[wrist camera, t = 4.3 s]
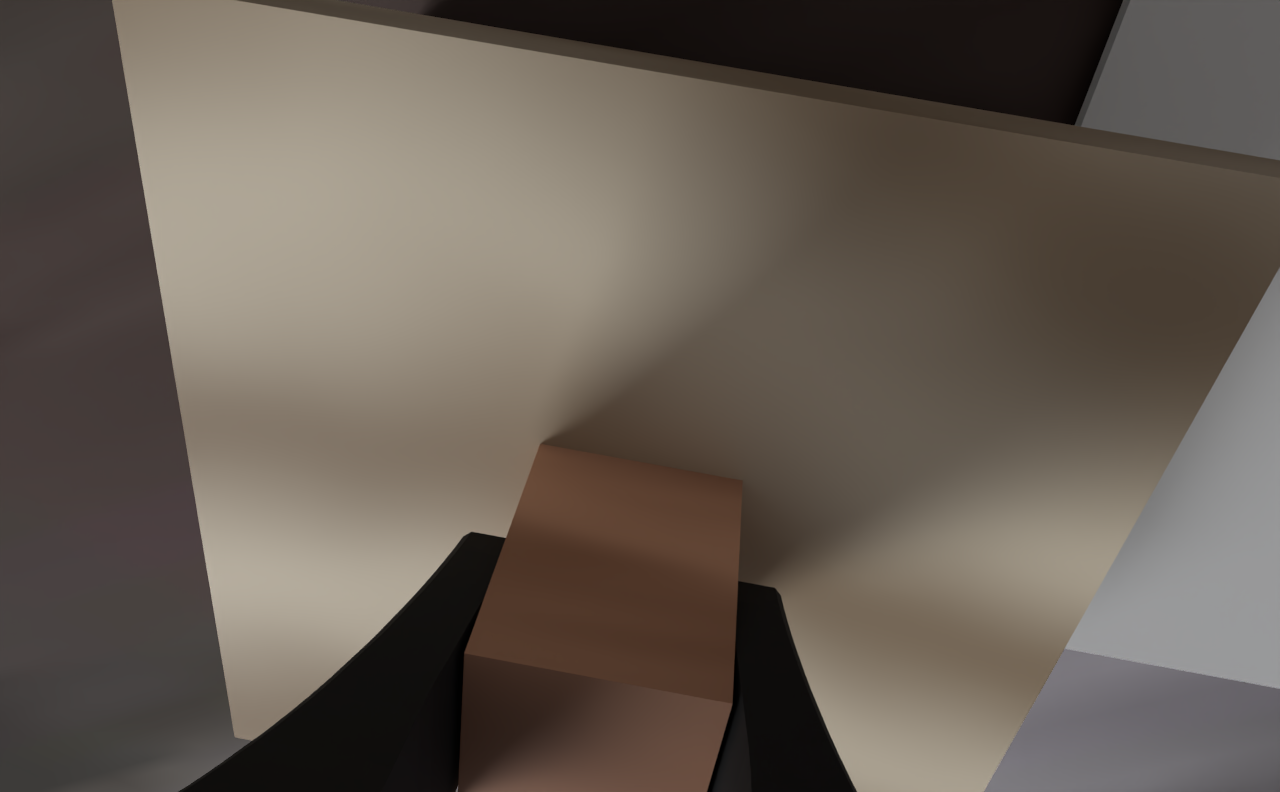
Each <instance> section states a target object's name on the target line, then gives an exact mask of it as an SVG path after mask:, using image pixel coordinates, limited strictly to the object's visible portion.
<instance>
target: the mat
mask: <svg viewBox="0 0 1280 792" xmlns="http://www.w3.org/2000/svg"><path fill="white" fill-rule="evenodd" d="M1075 126H1080V127H1086V128H1092V129H1098V130H1104V131H1110V132H1116V133H1122V134H1128V135H1133V136H1139V137H1145V138H1151V139H1157V140H1163V141H1169V142H1175V143H1181V144H1186V145H1192V146H1198V147H1204V148H1210V149H1216V150H1222V151H1228V152H1234V153H1239V154H1245V155H1251V156H1257V157H1263V158H1269V159H1275V160H1280V0H1123V2H1122V5H1121V7H1120V10H1119V12H1118V15H1117V17H1116V20H1115V23H1114V25H1113V28H1112V30H1111V33H1110V35H1109V38H1108V41H1107V43H1106V46H1105V48H1104V51H1103V54H1102V56H1101V59H1100V61H1099V64H1098V66H1097V69H1096V72H1095V74H1094V77H1093V79H1092V82H1091V84H1090V87H1089V90H1088V92H1087V95H1086V97H1085V100H1084V102H1083V105H1082V108H1081V110H1080V113H1079V115H1078V118H1077V120H1076V123H1075ZM1065 649H1069V650H1074V651H1080V652H1085V653H1091V654H1096V655H1101V656H1107V657H1112V658H1118V659H1123V660H1128V661H1134V662H1139V663H1144V664H1150V665H1155V666H1161V667H1166V668H1171V669H1177V670H1182V671H1188V672H1193V673H1198V674H1204V675H1209V676H1214V677H1220V678H1225V679H1231V680H1236V681H1241V682H1247V683H1252V684H1258V685H1263V686H1268V687H1274V688H1279V689H1280V268H1279V269H1278V271H1277V273H1276V275H1275V276H1274V278H1273V280H1272V282H1271V284H1270V285H1269V287H1268V289H1267V291H1266V292H1265V294H1264V296H1263V298H1262V300H1261V301H1260V303H1259V305H1258V307H1257V308H1256V310H1255V312H1254V314H1253V315H1252V317H1251V319H1250V321H1249V323H1248V324H1247V326H1246V328H1245V330H1244V331H1243V333H1242V335H1241V337H1240V339H1239V340H1238V342H1237V344H1236V346H1235V347H1234V349H1233V351H1232V353H1231V354H1230V356H1229V358H1228V360H1227V362H1226V363H1225V365H1224V367H1223V369H1222V370H1221V372H1220V374H1219V376H1218V377H1217V379H1216V381H1215V383H1214V385H1213V386H1212V388H1211V390H1210V392H1209V393H1208V395H1207V397H1206V399H1205V401H1204V402H1203V404H1202V406H1201V408H1200V409H1199V411H1198V413H1197V415H1196V416H1195V418H1194V420H1193V422H1192V424H1191V425H1190V427H1189V429H1188V431H1187V432H1186V434H1185V436H1184V438H1183V440H1182V441H1181V443H1180V445H1179V447H1178V448H1177V450H1176V452H1175V454H1174V455H1173V457H1172V459H1171V461H1170V463H1169V464H1168V466H1167V468H1166V470H1165V471H1164V473H1163V475H1162V477H1161V479H1160V480H1159V482H1158V484H1157V486H1156V487H1155V489H1154V491H1153V493H1152V494H1151V496H1150V498H1149V500H1148V502H1147V503H1146V505H1145V507H1144V509H1143V510H1142V512H1141V514H1140V516H1139V517H1138V519H1137V521H1136V523H1135V525H1134V526H1133V528H1132V530H1131V532H1130V533H1129V535H1128V537H1127V539H1126V541H1125V542H1124V544H1123V546H1122V548H1121V549H1120V551H1119V553H1118V555H1117V556H1116V558H1115V560H1114V562H1113V564H1112V565H1111V567H1110V569H1109V571H1108V572H1107V574H1106V576H1105V578H1104V580H1103V581H1102V583H1101V585H1100V587H1099V588H1098V590H1097V592H1096V594H1095V595H1094V597H1093V599H1092V601H1091V603H1090V604H1089V606H1088V608H1087V610H1086V611H1085V613H1084V615H1083V617H1082V619H1081V620H1080V622H1079V624H1078V626H1077V627H1076V629H1075V631H1074V633H1073V634H1072V636H1071V638H1070V640H1069V642H1068V643H1067V645H1066V647H1065Z"/></svg>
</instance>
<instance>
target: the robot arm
mask: <svg viewBox="0 0 1280 792" xmlns="http://www.w3.org/2000/svg"><path fill="white" fill-rule="evenodd" d="M505 539H506V538H504V537H498V536H493V535H488V534H482V533H477V532H470V533H468V534H466V535H465V536H463V537H462V539H461V540H460V541H459V543H458V544H457V545H456V547H455V548H454V549H453V550H452V552H451V553H450V554H449V555H448V557H447V558H446V559H445V560H444V562H443V563H442V564H441V565H440V566H439V568H438V569H437V570H436V571H435V572H434V573H433V575H432V576H431V577H430V578H429V579H428V580H427V581H426V583H425V584H424V585H423V586H422V587H421V588H420V589H419V590H418V592H417V593H416V594H415V595H414V596H413V597H412V598H411V599H410V600H409V601H408V602H407V603H406V604H405V605H404V607H403V608H402V609H401V610H400V611H399V612H398V613H397V614H396V615H395V616H394V617H393V618H392V619H391V620H390V621H389V622H388V623H387V624H386V625H385V626H384V627H383V628H382V629H381V630H380V631H379V632H378V633H377V634H376V635H375V636H374V637H373V638H372V639H371V640H370V641H369V642H368V643H367V644H366V645H365V646H364V647H363V648H362V649H361V650H360V651H359V652H358V653H356V654H355V655H354V656H353V657H352V658H351V659H350V660H349V661H348V662H347V663H346V664H345V665H344V666H342V667H341V668H340V669H339V670H338V671H337V672H336V673H335V674H334V675H333V676H332V677H331V678H329V679H328V680H327V681H326V682H325V683H324V684H323V685H321V686H320V687H319V688H318V689H317V690H316V691H314V692H313V693H312V694H311V695H310V696H309V697H307V698H306V699H305V700H304V701H303V702H301V703H300V704H299V705H298V706H297V707H295V708H294V709H293V710H292V711H290V712H289V713H288V714H287V715H285V716H284V717H283V718H281V719H280V720H279V721H278V722H276V723H275V724H274V725H273V726H271V727H270V728H269V729H267V730H266V731H265V732H264V733H262V734H261V735H260V736H258V737H257V738H255V739H254V740H253V741H251V742H250V743H248V744H247V745H246V746H244V747H243V748H242V749H240V750H239V751H237V752H236V753H235V754H233V755H232V756H231V757H229V758H228V759H226V760H225V761H224V762H222V763H221V764H220V765H218V766H217V767H215V768H214V769H212V770H211V771H209V772H208V773H206V774H205V775H203V776H202V777H200V778H199V779H197V780H196V781H194V782H193V783H191V784H190V785H188V786H187V787H185V788H184V789H182V790H180V791H179V792H456V789H457V786H458V781H459V759H460V736H461V714H462V692H463V670H464V652H465V650H466V647H467V644H468V641H469V639H470V636H471V633H472V630H473V628H474V625H475V622H476V619H477V617H478V614H479V611H480V608H481V606H482V603H483V600H484V597H485V594H486V592H487V589H488V586H489V583H490V581H491V578H492V575H493V572H494V570H495V567H496V564H497V561H498V559H499V556H500V553H501V550H502V547H503V545H504V542H505ZM707 792H857V791H856V789H855V787H854V785H853V783H852V781H851V779H850V776H849V774H848V772H847V770H846V768H845V766H844V764H843V762H842V760H841V758H840V756H839V754H838V752H837V749H836V747H835V745H834V743H833V740H832V738H831V736H830V734H829V732H828V729H827V727H826V724H825V722H824V720H823V717H822V715H821V712H820V710H819V707H818V705H817V703H816V700H815V698H814V695H813V693H812V691H811V688H810V685H809V683H808V680H807V677H806V675H805V672H804V669H803V667H802V664H801V661H800V658H799V655H798V652H797V649H796V647H795V643H794V640H793V637H792V634H791V631H790V628H789V624H788V621H787V617H786V614H785V610H784V606H783V602H782V598H781V595H780V594H779V592H778V591H777V590H776V588H774V587H769V586H763V585H758V584H752V583H747V582H741V581H738V594H737V616H736V638H735V660H734V682H733V704H732V707H731V711H730V714H729V718H728V721H727V724H726V728H725V731H724V735H723V738H722V742H721V745H720V749H719V752H718V755H717V759H716V762H715V766H714V769H713V773H712V776H711V779H710V783H709V786H708V790H707Z"/></svg>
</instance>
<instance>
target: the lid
mask: <svg viewBox="0 0 1280 792" xmlns="http://www.w3.org/2000/svg"><path fill="white" fill-rule="evenodd" d="M112 2H113V8H114V14H115V20H116V26H117V32H118V38H119V44H120V50H121V56H122V62H123V68H124V74H125V80H126V86H127V92H128V98H129V104H130V110H131V116H132V122H133V128H134V134H135V140H136V146H137V152H138V158H139V164H140V170H141V176H142V182H143V188H144V194H145V200H146V206H147V212H148V218H149V224H150V230H151V236H152V242H153V248H154V254H155V260H156V266H157V272H158V278H159V284H160V290H161V296H162V302H163V308H164V314H165V320H166V326H167V332H168V338H169V344H170V350H171V356H172V362H173V368H174V374H175V380H176V386H177V392H178V398H179V404H180V410H181V416H182V422H183V428H184V434H185V441H186V447H187V453H188V459H189V465H190V471H191V477H192V483H193V489H194V495H195V501H196V507H197V513H198V519H199V525H200V531H201V537H202V543H203V549H204V555H205V561H206V567H207V573H208V579H209V585H210V591H211V597H212V603H213V609H214V615H215V621H216V627H217V633H218V639H219V645H220V651H221V657H222V663H223V669H224V675H225V681H226V687H227V693H228V699H229V705H230V711H231V717H232V723H233V729H234V735H235V737H237V738H242V739H247V740H252V741H253V740H254V739H255V738H257V737H258V736H260V735H261V734H262V733H264V732H265V731H266V730H267V729H269V728H270V727H271V726H273V725H274V724H275V723H276V722H278V721H279V720H280V719H281V718H283V717H284V716H285V715H287V714H288V713H289V712H290V711H292V710H293V709H294V708H295V707H297V706H298V705H299V704H300V703H301V702H303V701H304V700H305V699H306V698H307V697H309V696H310V695H311V694H312V693H313V692H314V691H316V690H317V689H318V688H319V687H320V686H321V685H323V684H324V683H325V682H326V681H327V680H328V679H329V678H331V677H332V676H333V675H334V674H335V673H336V672H337V671H338V670H339V669H340V668H341V667H342V666H344V665H345V664H346V663H347V662H348V661H349V660H350V659H351V658H352V657H353V656H354V655H355V654H356V653H358V652H359V651H360V650H361V649H362V648H363V647H364V646H365V645H366V644H367V643H368V642H369V641H370V640H371V639H372V638H373V637H374V636H375V635H376V634H377V633H378V632H379V631H380V630H381V629H382V628H383V627H384V626H385V625H386V624H387V623H388V622H389V621H390V620H391V619H392V618H393V617H394V616H395V615H396V614H397V613H398V612H399V611H400V610H401V609H402V608H403V607H404V605H405V604H406V603H407V602H408V601H409V600H410V599H411V598H412V597H413V596H414V595H415V594H416V593H417V592H418V590H419V589H420V588H421V587H422V586H423V585H424V584H425V583H426V581H427V580H428V579H429V578H430V577H431V576H432V575H433V573H434V572H435V571H436V570H437V569H438V568H439V566H440V565H441V564H442V563H443V562H444V560H445V559H446V558H447V557H448V555H449V554H450V553H451V552H452V550H453V549H454V548H455V547H456V545H457V544H458V543H459V541H460V540H461V539H462V537H463V536H465V535H466V534H468V533H470V532H477V533H482V534H488V535H493V536H498V537H504V538H506V539H505V542H504V545H503V547H502V550H501V553H500V556H499V559H498V561H497V564H496V567H495V570H494V572H493V575H492V578H491V581H490V583H489V586H488V589H487V592H486V594H485V597H484V600H483V603H482V606H481V608H480V611H479V614H478V617H477V619H476V622H475V625H474V628H473V630H472V633H471V636H470V639H469V641H468V644H467V647H466V650H465V652H464V670H463V692H462V714H461V736H460V759H459V781H458V792H707V790H708V786H709V783H710V779H711V776H712V773H713V769H714V766H715V762H716V759H717V755H718V752H719V749H720V745H721V742H722V738H723V735H724V731H725V728H726V724H727V721H728V718H729V714H730V711H731V707H732V704H733V682H734V660H735V638H736V616H737V594H738V581H741V582H747V583H752V584H758V585H763V586H769V587H774V588H776V590H777V591H778V592H779V594H780V595H781V598H782V602H783V606H784V610H785V614H786V617H787V621H788V624H789V628H790V631H791V634H792V637H793V640H794V643H795V647H796V649H797V652H798V655H799V658H800V661H801V664H802V667H803V669H804V672H805V675H806V677H807V680H808V683H809V685H810V688H811V691H812V693H813V695H814V698H815V700H816V703H817V705H818V707H819V710H820V712H821V715H822V717H823V720H824V722H825V724H826V727H827V729H828V732H829V734H830V736H831V738H832V740H833V743H834V745H835V747H836V749H837V752H838V754H839V756H840V758H841V760H842V762H843V764H844V766H845V768H846V770H847V772H848V774H849V776H850V779H851V781H852V783H853V785H854V787H855V789H856V791H857V792H984V790H985V789H986V787H987V785H988V783H989V782H990V780H991V778H992V776H993V774H994V773H995V771H996V769H997V767H998V766H999V764H1000V762H1001V760H1002V759H1003V757H1004V755H1005V753H1006V751H1007V750H1008V748H1009V746H1010V744H1011V743H1012V741H1013V739H1014V737H1015V735H1016V734H1017V732H1018V730H1019V728H1020V727H1021V725H1022V723H1023V721H1024V720H1025V718H1026V716H1027V714H1028V712H1029V711H1030V709H1031V707H1032V705H1033V704H1034V702H1035V700H1036V698H1037V696H1038V695H1039V693H1040V691H1041V689H1042V688H1043V686H1044V684H1045V682H1046V681H1047V679H1048V677H1049V675H1050V673H1051V672H1052V670H1053V668H1054V666H1055V665H1056V663H1057V661H1058V659H1059V657H1060V656H1061V654H1062V652H1063V650H1064V649H1065V647H1066V645H1067V643H1068V642H1069V640H1070V638H1071V636H1072V634H1073V633H1074V631H1075V629H1076V627H1077V626H1078V624H1079V622H1080V620H1081V619H1082V617H1083V615H1084V613H1085V611H1086V610H1087V608H1088V606H1089V604H1090V603H1091V601H1092V599H1093V597H1094V595H1095V594H1096V592H1097V590H1098V588H1099V587H1100V585H1101V583H1102V581H1103V580H1104V578H1105V576H1106V574H1107V572H1108V571H1109V569H1110V567H1111V565H1112V564H1113V562H1114V560H1115V558H1116V556H1117V555H1118V553H1119V551H1120V549H1121V548H1122V546H1123V544H1124V542H1125V541H1126V539H1127V537H1128V535H1129V533H1130V532H1131V530H1132V528H1133V526H1134V525H1135V523H1136V521H1137V519H1138V517H1139V516H1140V514H1141V512H1142V510H1143V509H1144V507H1145V505H1146V503H1147V502H1148V500H1149V498H1150V496H1151V494H1152V493H1153V491H1154V489H1155V487H1156V486H1157V484H1158V482H1159V480H1160V479H1161V477H1162V475H1163V473H1164V471H1165V470H1166V468H1167V466H1168V464H1169V463H1170V461H1171V459H1172V457H1173V455H1174V454H1175V452H1176V450H1177V448H1178V447H1179V445H1180V443H1181V441H1182V440H1183V438H1184V436H1185V434H1186V432H1187V431H1188V429H1189V427H1190V425H1191V424H1192V422H1193V420H1194V418H1195V416H1196V415H1197V413H1198V411H1199V409H1200V408H1201V406H1202V404H1203V402H1204V401H1205V399H1206V397H1207V395H1208V393H1209V392H1210V390H1211V388H1212V386H1213V385H1214V383H1215V381H1216V379H1217V377H1218V376H1219V374H1220V372H1221V370H1222V369H1223V367H1224V365H1225V363H1226V362H1227V360H1228V358H1229V356H1230V354H1231V353H1232V351H1233V349H1234V347H1235V346H1236V344H1237V342H1238V340H1239V339H1240V337H1241V335H1242V333H1243V331H1244V330H1245V328H1246V326H1247V324H1248V323H1249V321H1250V319H1251V317H1252V315H1253V314H1254V312H1255V310H1256V308H1257V307H1258V305H1259V303H1260V301H1261V300H1262V298H1263V296H1264V294H1265V292H1266V291H1267V289H1268V287H1269V285H1270V284H1271V282H1272V280H1273V278H1274V276H1275V275H1276V273H1277V271H1278V269H1279V268H1280V160H1275V159H1269V158H1263V157H1257V156H1251V155H1245V154H1239V153H1234V152H1228V151H1222V150H1216V149H1210V148H1204V147H1198V146H1192V145H1186V144H1181V143H1175V142H1169V141H1163V140H1157V139H1151V138H1145V137H1139V136H1133V135H1128V134H1122V133H1116V132H1110V131H1104V130H1098V129H1092V128H1086V127H1080V126H1075V125H1069V124H1063V123H1057V122H1051V121H1045V120H1039V119H1033V118H1027V117H1022V116H1016V115H1010V114H1004V113H998V112H992V111H986V110H980V109H974V108H969V107H963V106H957V105H951V104H945V103H939V102H933V101H927V100H921V99H916V98H910V97H904V96H898V95H892V94H886V93H880V92H874V91H868V90H863V89H857V88H851V87H845V86H839V85H833V84H827V83H821V82H815V81H810V80H804V79H798V78H792V77H786V76H780V75H774V74H768V73H762V72H757V71H751V70H745V69H739V68H733V67H727V66H721V65H715V64H709V63H704V62H698V61H692V60H686V59H680V58H674V57H668V56H662V55H656V54H651V53H645V52H639V51H633V50H627V49H621V48H615V47H609V46H603V45H598V44H592V43H586V42H580V41H574V40H568V39H562V38H556V37H550V36H545V35H539V34H533V33H527V32H521V31H515V30H509V29H503V28H497V27H492V26H486V25H480V24H474V23H468V22H462V21H456V20H450V19H444V18H439V17H433V16H427V15H421V14H415V13H409V12H403V11H397V10H391V9H386V8H380V7H374V6H368V5H362V4H356V3H350V2H344V1H338V0H112Z"/></svg>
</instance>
